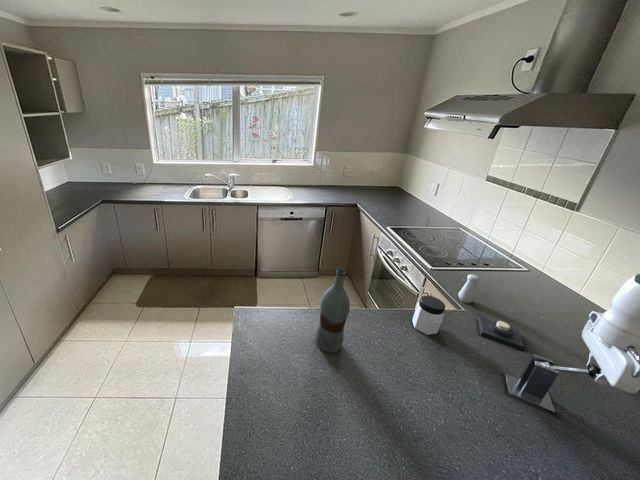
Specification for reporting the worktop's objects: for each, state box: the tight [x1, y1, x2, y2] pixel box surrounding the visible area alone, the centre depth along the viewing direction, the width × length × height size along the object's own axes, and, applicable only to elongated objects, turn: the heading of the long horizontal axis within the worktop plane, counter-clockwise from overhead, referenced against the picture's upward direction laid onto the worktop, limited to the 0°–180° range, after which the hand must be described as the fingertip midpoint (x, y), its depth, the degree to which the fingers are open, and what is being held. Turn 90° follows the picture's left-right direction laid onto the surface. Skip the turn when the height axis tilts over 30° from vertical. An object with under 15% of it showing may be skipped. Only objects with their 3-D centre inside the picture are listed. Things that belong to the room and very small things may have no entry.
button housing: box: [477, 316, 525, 351], centre depth 105 cm, size 12×10×4 cm
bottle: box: [315, 268, 351, 354], centre depth 92 cm, size 9×9×30 cm
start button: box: [496, 320, 511, 331], centre depth 104 cm, size 4×4×2 cm
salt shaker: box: [458, 274, 481, 304], centre depth 122 cm, size 6×6×13 cm
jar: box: [411, 295, 446, 336], centre depth 106 cm, size 9×8×12 cm
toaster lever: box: [535, 361, 601, 379], centre depth 76 cm, size 13×3×3 cm, turn 57°
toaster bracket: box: [504, 353, 560, 414], centre depth 81 cm, size 10×8×13 cm
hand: (594, 375), depth 73 cm, fingers closed on toaster lever, 3 cm apart
